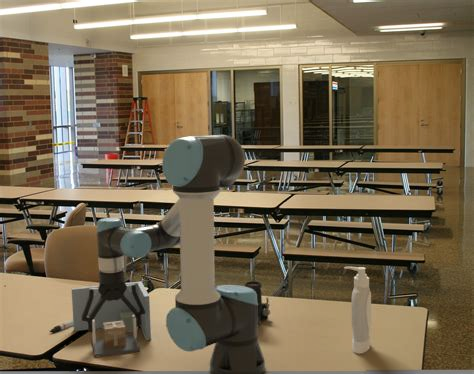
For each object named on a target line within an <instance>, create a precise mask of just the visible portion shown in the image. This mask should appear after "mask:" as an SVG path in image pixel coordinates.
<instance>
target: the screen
mask: <svg viewBox="0 0 474 374" xmlns="http://www.w3.org/2000/svg"><path fill="white" fill-rule="evenodd" d="M132 283H134V284H135V286H136V293H137V295H138V297H139V299H140V301H141V303H142V306H143V308H144V310H145V314H142V315H140V326H139V327H140V329H141V332H142V333H143V335H144V339H145V340H146V341H149V340H152V334H151V333H152V332H151V331H152V330H151V329H152V328H151V327H152V326H151V310H150V309H151V307H150V306H151V305H150V295H149V292H148V291H147V289H146V288H145V285H144V283H143V281H134V282H132V281H131V282H125V284H126V285H130V284H132ZM90 287H92V288H98V287H99V285H92V286H91V285H90V286H82V287H72V288H71V302H72V303H71V304H72V320H73V324H74V325H73V332H79V331H85V330H87V331H89V330H88V322H87V321H82V317H81V316H82V313H83V310H84V308H85V305H86V302H87V299H88V296H89V288H90ZM124 295H125V296H126V298H127V299H128V300H129V301H130V302H131V304H132V305H133V306H134V307H135V308H136V309H137V311H138V310H140V309H139V307H138V305H137V302H136V300H135V298H134V296H133V294H132V292H130V291H129V289H126V291H125V292H124ZM100 297H101V294H100V293H99V292H97V293H96V295H95V296H94V297H93V301H92V304H91V306H90V309H89V312H88V315H87V316H89V315H90V313H91V312H92V310H93V308H94V307H95V305H96V304H97V302H98V301H99V299H100ZM123 312H132V311H131V310H130V309H129V308H128V306H127V305H126V304H125V303H124V302H123V301H122V300H121V298H120V299H118V300H112V301H107V300H106V301H105V303H104V304H103V305H102V307H101V308H100V310H99V311H98V313H97V314H96V316H95V318H94V319H93V320H94V321H95V330H96V329H102V328H103V323H105V322H114V321H121V319H120V313H123Z"/></svg>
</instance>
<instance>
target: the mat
mask: <svg viewBox="0 0 474 374" xmlns="http://www.w3.org/2000/svg"><path fill="white" fill-rule="evenodd" d="M91 345H92V349H94V350H93V354H94V355H93V356H94V358H98V357H97V356H101V357H106V356H107V357H108V356H115V355H121V354H122V355H123V354H131V353H139V352H140V347H139V344H138V342H137V338H135V339H134V336H133V333H132V334H131V333H130V334H126V346H122V347H115V348H107V349H106V347H105V343H104V337H98V338H97V337H96V343H94V344H93V338H91Z"/></svg>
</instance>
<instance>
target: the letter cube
mask: <svg viewBox="0 0 474 374" xmlns="http://www.w3.org/2000/svg"><path fill="white" fill-rule="evenodd" d="M126 333H127V332H125V325H124V322H123V320H122V321H114V322H105V323H103V338H104V343H105V347H106V349H107V348H115V347H122V346H126V335H127V334H126Z"/></svg>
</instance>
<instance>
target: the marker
mask: <svg viewBox="0 0 474 374" xmlns="http://www.w3.org/2000/svg"><path fill="white" fill-rule="evenodd" d="M70 326H71V327H74V324H73V319H70V320H68V321H64V322H63V323H59V324H58V325H56V326H54V327H53V328H51V330H49V333H58V332H62V331H63V330H66V329H68V328H71V327H70Z"/></svg>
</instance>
